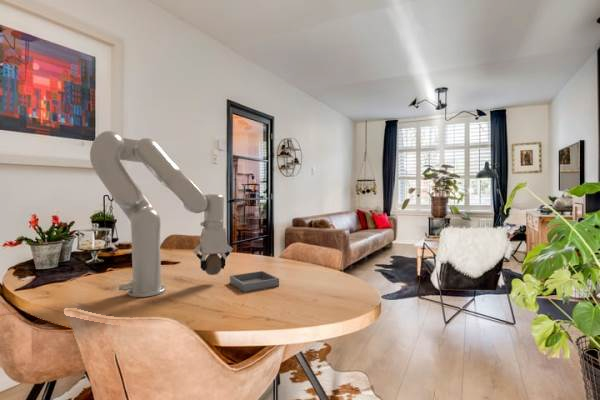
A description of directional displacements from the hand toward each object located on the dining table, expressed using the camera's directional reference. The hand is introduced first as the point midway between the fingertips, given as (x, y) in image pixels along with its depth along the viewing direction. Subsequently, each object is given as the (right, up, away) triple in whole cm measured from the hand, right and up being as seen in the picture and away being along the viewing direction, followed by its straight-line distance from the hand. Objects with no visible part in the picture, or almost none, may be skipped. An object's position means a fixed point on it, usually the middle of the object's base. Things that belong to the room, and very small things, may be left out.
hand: (213, 268), depth 134 cm
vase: (0, -2, 0) cm, 2 cm away
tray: (+17, -6, -2) cm, 18 cm away
